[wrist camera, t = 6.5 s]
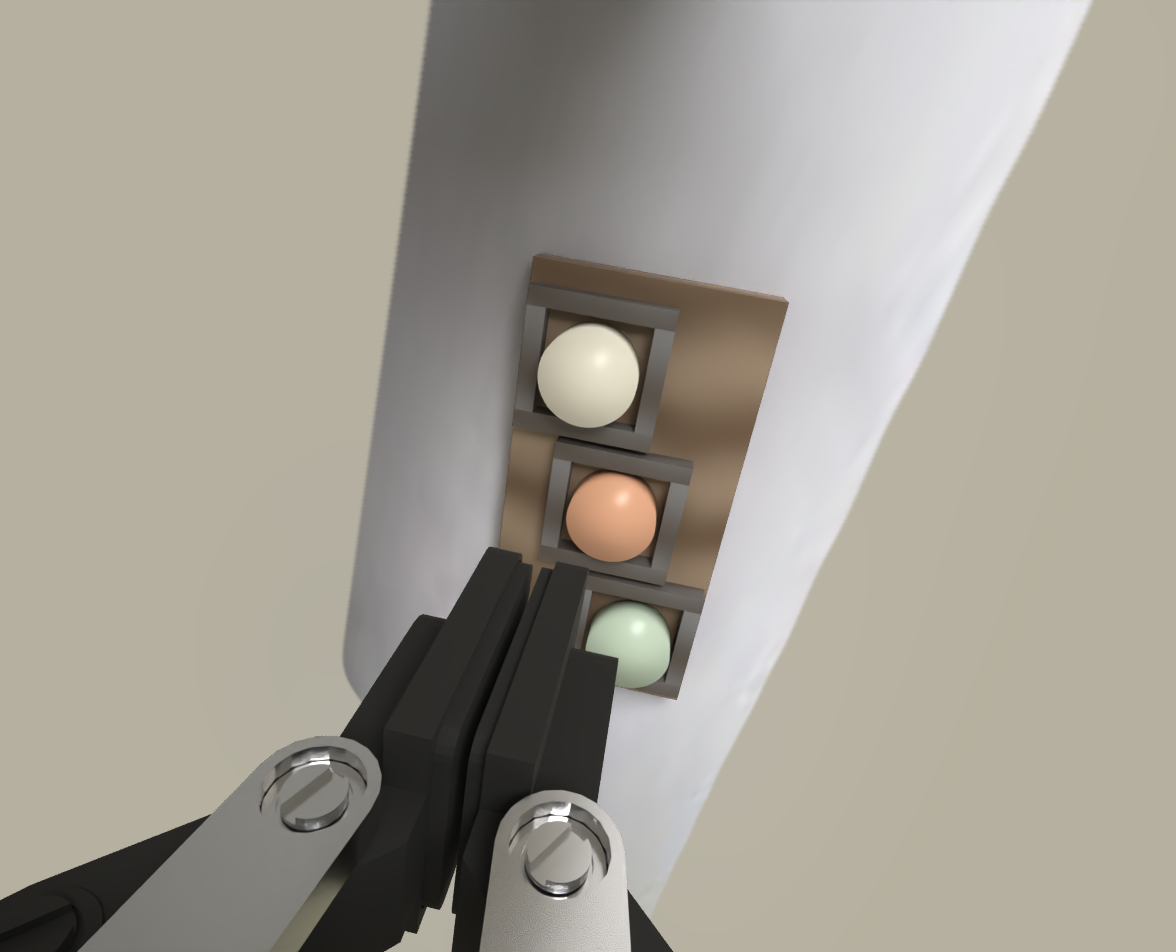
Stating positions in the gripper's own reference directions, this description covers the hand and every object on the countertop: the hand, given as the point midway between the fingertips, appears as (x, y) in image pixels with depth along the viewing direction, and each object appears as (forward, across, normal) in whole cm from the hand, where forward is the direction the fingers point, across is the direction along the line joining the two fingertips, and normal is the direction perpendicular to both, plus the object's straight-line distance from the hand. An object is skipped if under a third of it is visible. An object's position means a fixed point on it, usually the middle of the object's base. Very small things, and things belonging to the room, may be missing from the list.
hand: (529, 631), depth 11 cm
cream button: (+24, +2, +2) cm, 24 cm away
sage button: (+24, -3, +18) cm, 30 cm away
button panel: (+27, 0, +10) cm, 29 cm away
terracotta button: (+25, -1, +10) cm, 27 cm away
